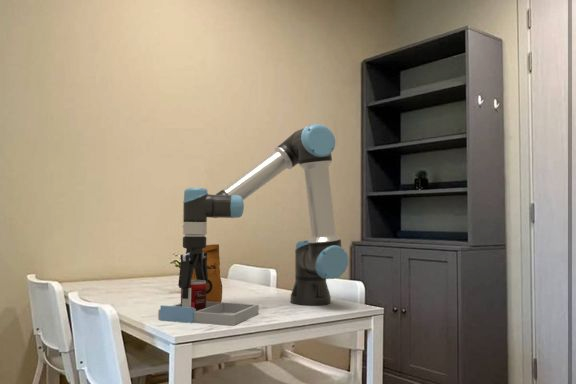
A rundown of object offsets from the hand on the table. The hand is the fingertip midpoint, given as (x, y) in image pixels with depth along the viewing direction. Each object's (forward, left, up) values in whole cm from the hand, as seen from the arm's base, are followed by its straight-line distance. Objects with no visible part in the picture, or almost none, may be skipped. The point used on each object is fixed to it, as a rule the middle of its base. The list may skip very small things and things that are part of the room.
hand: (193, 306), depth 167 cm
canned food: (0, 0, -3) cm, 3 cm away
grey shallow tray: (-6, 0, -3) cm, 7 cm away
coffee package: (+5, -18, -3) cm, 19 cm away
